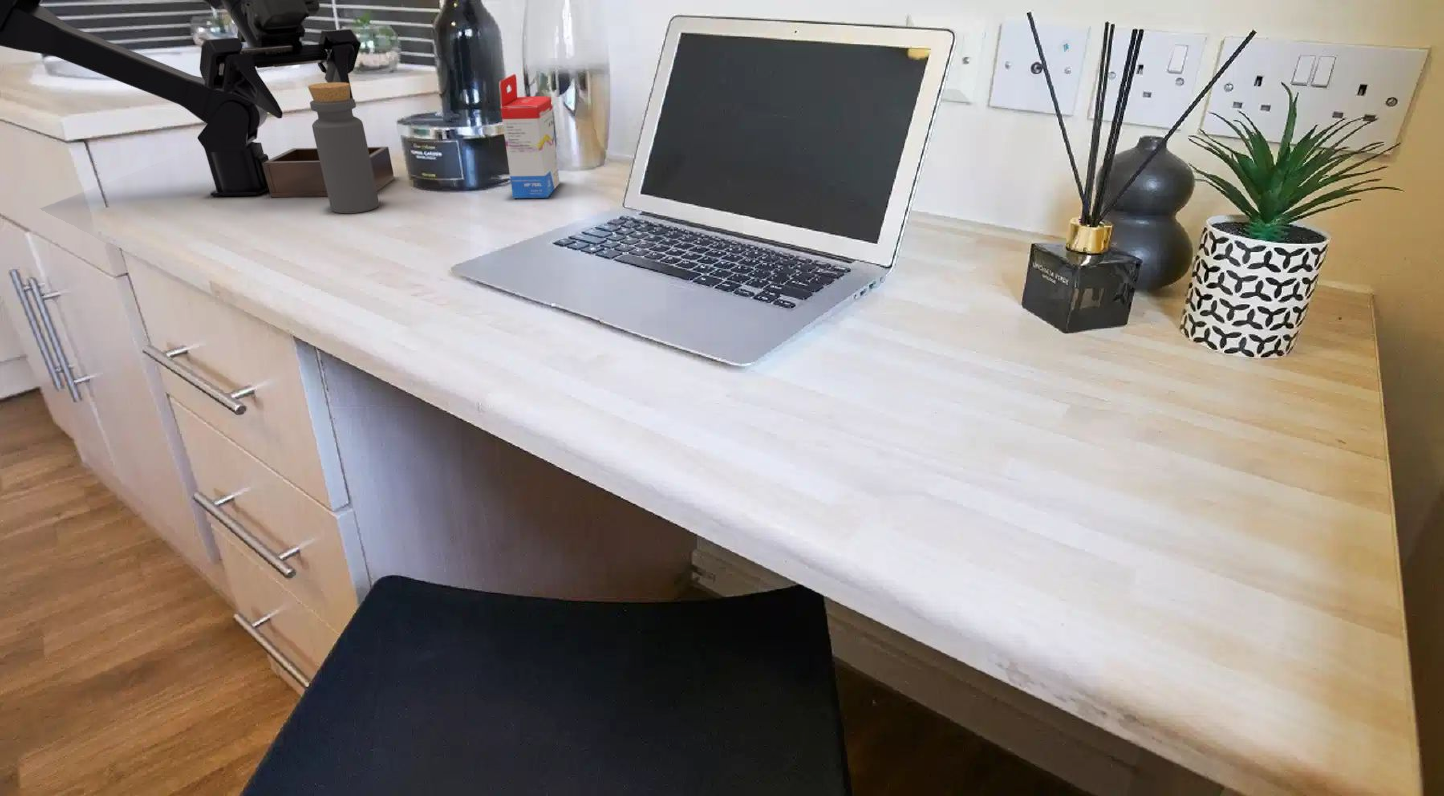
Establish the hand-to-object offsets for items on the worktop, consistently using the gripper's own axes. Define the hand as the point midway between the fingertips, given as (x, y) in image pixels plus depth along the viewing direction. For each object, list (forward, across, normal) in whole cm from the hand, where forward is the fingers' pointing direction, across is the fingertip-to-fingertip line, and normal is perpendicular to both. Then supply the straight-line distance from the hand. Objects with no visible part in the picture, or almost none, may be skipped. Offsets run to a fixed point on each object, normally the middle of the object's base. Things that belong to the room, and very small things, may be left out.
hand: (317, 110), depth 106 cm
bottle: (+11, 0, +5) cm, 13 cm away
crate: (+2, +4, +14) cm, 15 cm away
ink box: (+20, +20, -3) cm, 28 cm away
